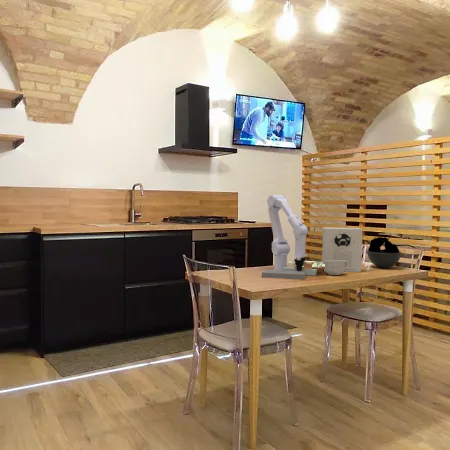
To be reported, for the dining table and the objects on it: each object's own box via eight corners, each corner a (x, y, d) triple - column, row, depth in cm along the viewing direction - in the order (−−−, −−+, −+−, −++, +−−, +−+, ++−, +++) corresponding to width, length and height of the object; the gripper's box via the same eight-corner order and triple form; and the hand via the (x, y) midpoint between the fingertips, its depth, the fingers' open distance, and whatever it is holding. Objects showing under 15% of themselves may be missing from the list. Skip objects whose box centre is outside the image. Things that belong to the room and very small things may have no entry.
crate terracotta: (304, 268, 261) (304, 262, 261) (311, 268, 260) (311, 263, 260) (303, 269, 257) (304, 263, 257) (311, 269, 256) (311, 264, 256)
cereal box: (358, 270, 277) (360, 228, 276) (361, 272, 270) (362, 228, 268) (321, 269, 280) (322, 227, 278) (323, 271, 272) (324, 228, 271)
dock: (265, 273, 259) (265, 269, 258) (305, 276, 253) (305, 271, 253) (261, 277, 248) (262, 272, 248) (303, 279, 242) (303, 274, 242)
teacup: (329, 276, 253) (329, 261, 253) (321, 273, 264) (321, 259, 263) (353, 275, 256) (353, 261, 255) (344, 272, 266) (344, 258, 266)
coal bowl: (375, 264, 303) (376, 235, 302) (406, 267, 289) (407, 237, 288) (360, 267, 288) (361, 237, 287) (392, 271, 274) (393, 239, 273)
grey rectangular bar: (282, 274, 260) (282, 268, 260) (284, 272, 265) (284, 266, 265) (315, 275, 255) (315, 269, 255) (316, 274, 260) (316, 268, 260)
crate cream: (288, 267, 264) (288, 261, 263) (295, 267, 263) (295, 262, 262) (287, 268, 260) (287, 262, 260) (294, 268, 259) (294, 263, 259)
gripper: (306, 248, 251) (305, 273, 252) (308, 246, 265) (308, 269, 266) (293, 248, 253) (292, 273, 254) (296, 245, 267) (295, 269, 268)
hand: (299, 271), depth 260 cm, fingers closed on grey rectangular bar, 5 cm apart
